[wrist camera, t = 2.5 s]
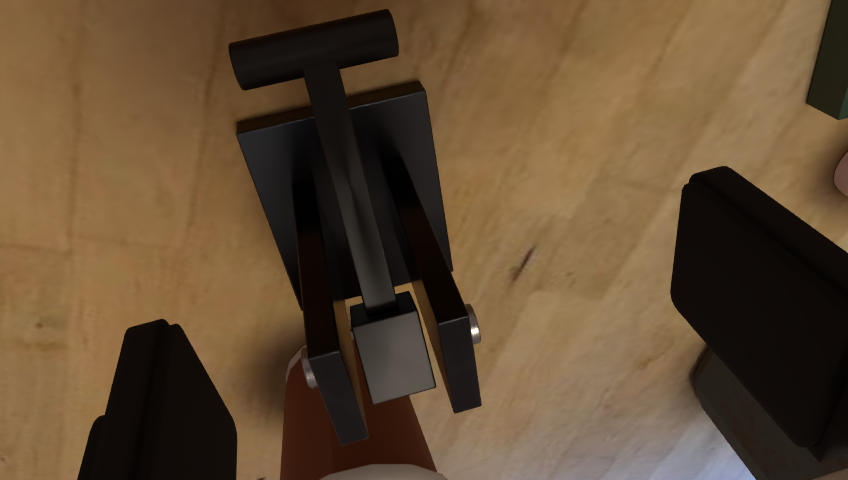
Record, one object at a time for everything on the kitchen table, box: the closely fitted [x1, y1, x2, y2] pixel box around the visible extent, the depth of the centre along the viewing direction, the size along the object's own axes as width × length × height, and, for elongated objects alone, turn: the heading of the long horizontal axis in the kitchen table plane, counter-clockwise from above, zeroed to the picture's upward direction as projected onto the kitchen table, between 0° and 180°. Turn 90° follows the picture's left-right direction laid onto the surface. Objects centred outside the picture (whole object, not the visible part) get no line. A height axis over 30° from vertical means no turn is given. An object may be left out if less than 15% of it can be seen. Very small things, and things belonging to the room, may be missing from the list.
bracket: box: [236, 81, 482, 445], centre depth 24 cm, size 10×8×12 cm
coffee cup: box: [280, 332, 447, 480], centre depth 30 cm, size 9×9×12 cm
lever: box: [228, 9, 436, 405], centre depth 20 cm, size 12×5×2 cm, turn 8°
